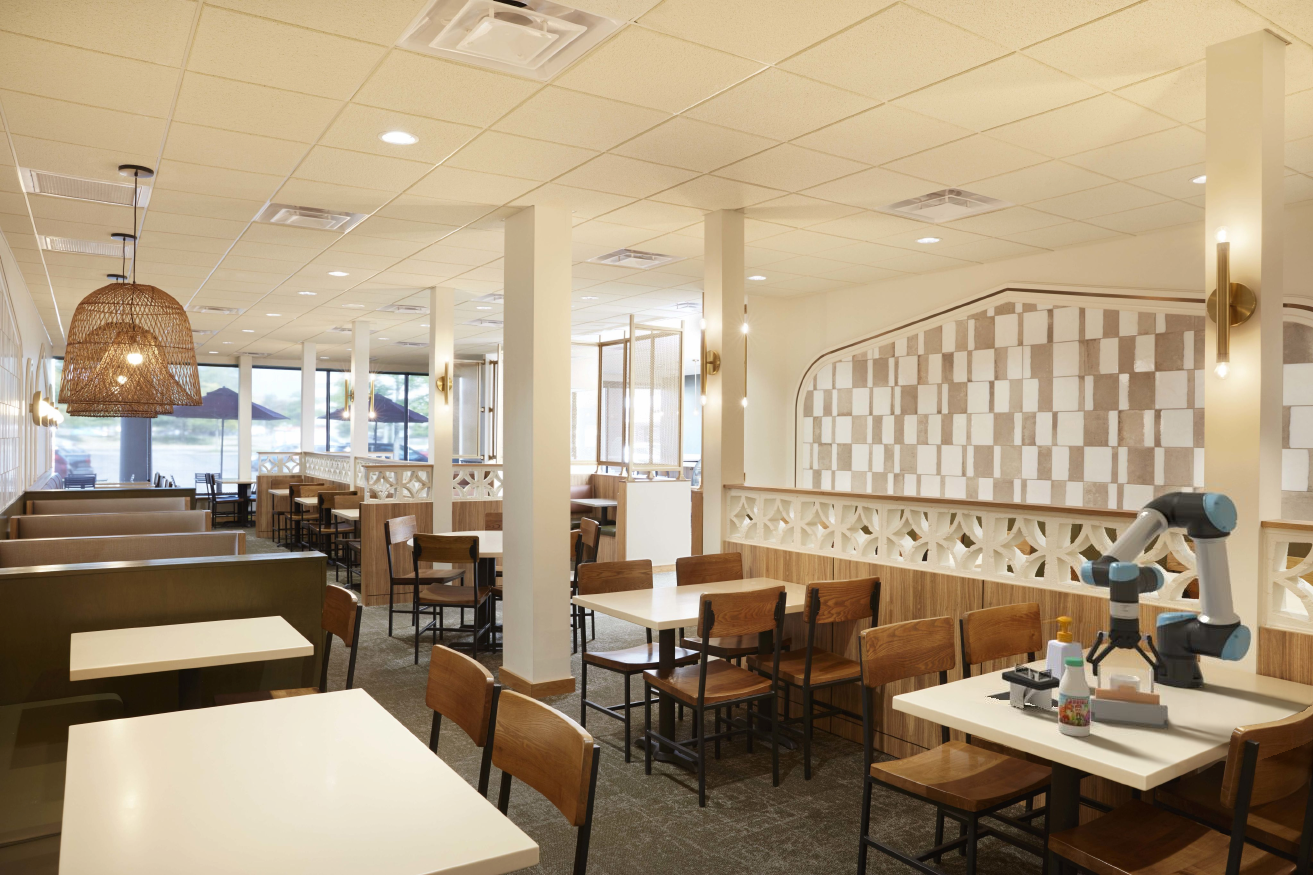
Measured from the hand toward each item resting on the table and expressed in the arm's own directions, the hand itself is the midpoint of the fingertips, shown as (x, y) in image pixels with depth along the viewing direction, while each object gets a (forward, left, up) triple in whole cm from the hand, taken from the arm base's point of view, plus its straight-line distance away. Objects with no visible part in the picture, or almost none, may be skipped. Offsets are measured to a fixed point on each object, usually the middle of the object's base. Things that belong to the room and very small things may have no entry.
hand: (1124, 689), depth 252 cm
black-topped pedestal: (+25, +3, -8) cm, 27 cm away
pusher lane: (0, 0, -7) cm, 7 cm away
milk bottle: (+15, +23, -8) cm, 29 cm away
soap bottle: (+15, -30, -8) cm, 34 cm away
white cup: (0, 0, -7) cm, 7 cm away
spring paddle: (0, +6, -6) cm, 8 cm away
